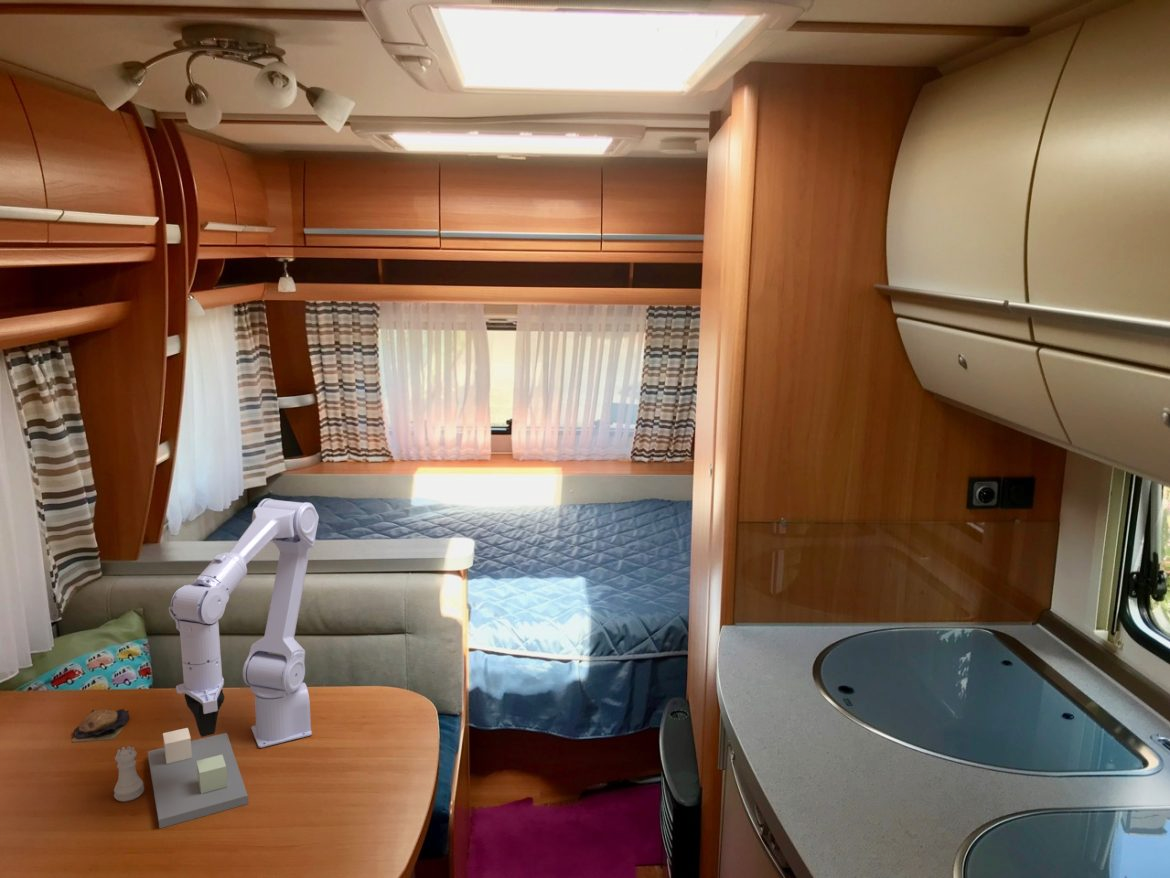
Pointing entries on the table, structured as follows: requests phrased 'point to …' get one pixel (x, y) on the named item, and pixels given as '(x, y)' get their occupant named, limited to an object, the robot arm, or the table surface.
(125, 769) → the rook chess piece
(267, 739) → the robot arm
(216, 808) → the panel
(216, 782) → the pale green cube
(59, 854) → the table surface
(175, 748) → the cream matte cube
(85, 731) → the abalone
